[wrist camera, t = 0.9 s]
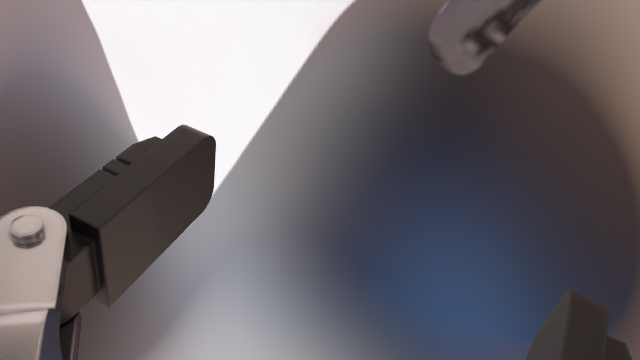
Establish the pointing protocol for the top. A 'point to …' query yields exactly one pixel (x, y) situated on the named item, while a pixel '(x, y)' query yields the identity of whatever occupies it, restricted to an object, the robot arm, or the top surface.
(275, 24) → the top surface
